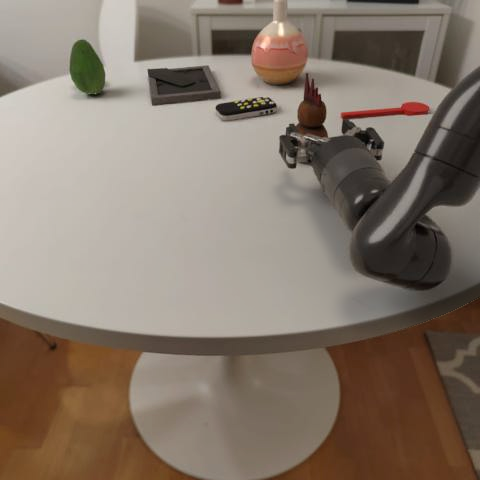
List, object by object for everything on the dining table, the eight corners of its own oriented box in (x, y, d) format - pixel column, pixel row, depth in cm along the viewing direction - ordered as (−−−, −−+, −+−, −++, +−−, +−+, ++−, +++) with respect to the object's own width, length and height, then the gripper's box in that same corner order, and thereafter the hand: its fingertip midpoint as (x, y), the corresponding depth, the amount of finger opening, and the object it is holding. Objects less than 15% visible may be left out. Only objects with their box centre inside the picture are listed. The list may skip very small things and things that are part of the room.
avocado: (100, 86, 115) (89, 33, 107) (114, 94, 111) (103, 39, 103) (70, 94, 112) (56, 39, 104) (83, 102, 107) (69, 46, 99)
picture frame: (148, 77, 120) (152, 105, 104) (147, 69, 118) (150, 96, 103) (208, 71, 122) (221, 98, 106) (208, 63, 120) (220, 89, 105)
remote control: (214, 112, 100) (213, 103, 98) (268, 103, 103) (268, 94, 101) (222, 122, 95) (222, 112, 94) (278, 113, 98) (279, 103, 97)
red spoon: (421, 105, 99) (422, 100, 98) (432, 115, 95) (433, 110, 94) (337, 112, 97) (338, 107, 97) (345, 122, 93) (346, 117, 93)
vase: (240, 81, 115) (237, 0, 103) (278, 69, 121) (279, -9, 110) (279, 94, 107) (281, 7, 95) (317, 80, 114) (323, -3, 102)
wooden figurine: (286, 159, 82) (290, 71, 72) (318, 156, 82) (325, 67, 72) (297, 177, 77) (302, 84, 67) (330, 173, 77) (340, 81, 67)
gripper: (408, 143, 57) (364, 98, 69) (298, 154, 56) (273, 106, 68) (397, 196, 62) (358, 145, 74) (295, 206, 61) (272, 153, 73)
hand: (317, 127), depth 71 cm, fingers open, 8 cm apart
